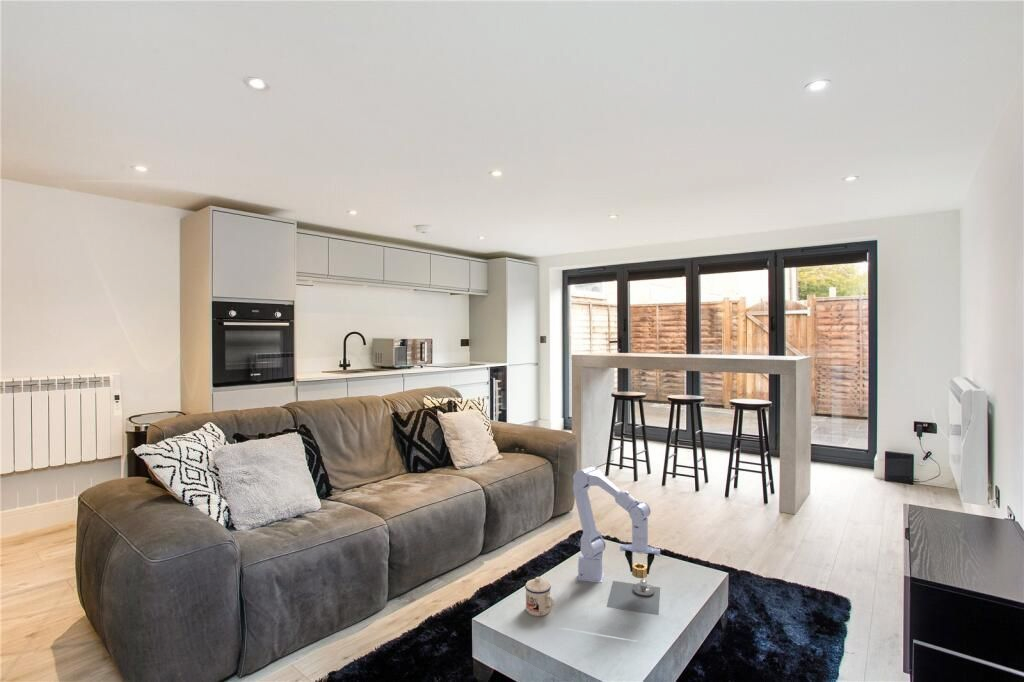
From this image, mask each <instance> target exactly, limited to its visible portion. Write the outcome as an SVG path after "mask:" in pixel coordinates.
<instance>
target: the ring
mask: <svg viewBox="0 0 1024 682" xmlns="http://www.w3.org/2000/svg"><path fill="white" fill-rule="evenodd" d="M631 576H633V577H634V578H637V579H646V578H647V577H648V574H647V564H644V563H641V562H636V563H635V562H634V563H633V565H632V572H631Z"/></svg>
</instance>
